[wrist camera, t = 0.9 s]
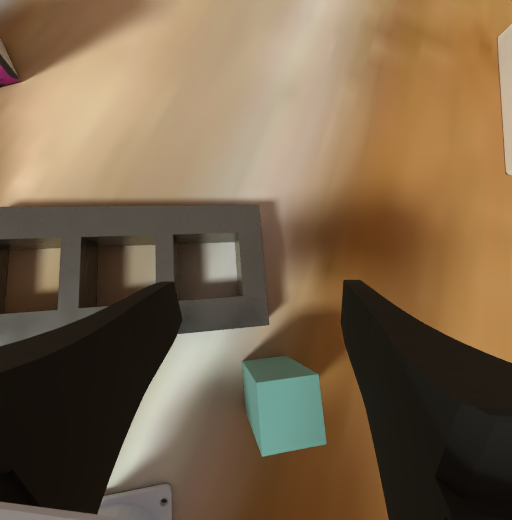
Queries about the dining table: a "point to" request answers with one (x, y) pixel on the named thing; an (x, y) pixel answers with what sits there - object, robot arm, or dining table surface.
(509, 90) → the gable box
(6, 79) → the candy bar box
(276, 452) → the square peg
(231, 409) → the dining table surface
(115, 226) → the rail
